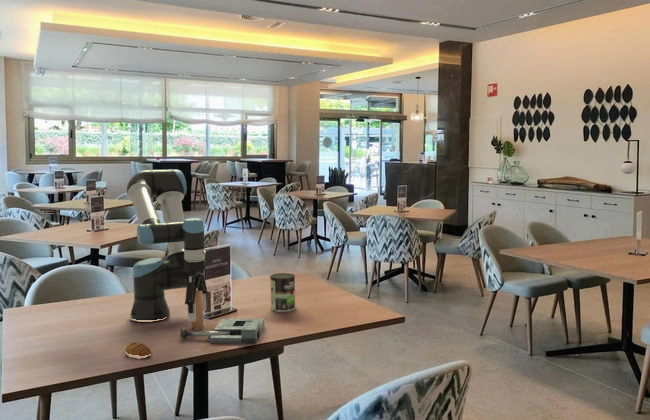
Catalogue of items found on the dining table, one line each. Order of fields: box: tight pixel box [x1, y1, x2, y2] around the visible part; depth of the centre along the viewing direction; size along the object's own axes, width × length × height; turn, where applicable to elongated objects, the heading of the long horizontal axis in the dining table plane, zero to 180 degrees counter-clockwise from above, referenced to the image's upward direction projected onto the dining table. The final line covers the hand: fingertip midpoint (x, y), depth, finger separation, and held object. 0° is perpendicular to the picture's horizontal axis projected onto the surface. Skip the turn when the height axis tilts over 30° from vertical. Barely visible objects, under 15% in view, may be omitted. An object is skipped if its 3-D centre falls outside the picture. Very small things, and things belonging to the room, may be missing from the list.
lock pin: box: [179, 329, 230, 339], centre depth 201 cm, size 17×3×3 cm, turn 87°
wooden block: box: [191, 289, 205, 330], centre depth 213 cm, size 4×4×14 cm
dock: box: [206, 317, 265, 344], centre depth 205 cm, size 18×18×5 cm
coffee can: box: [269, 272, 296, 313], centre depth 237 cm, size 10×10×14 cm
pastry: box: [124, 342, 153, 356], centre depth 186 cm, size 9×7×4 cm
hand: (197, 315), depth 213 cm, fingers open, 13 cm apart
